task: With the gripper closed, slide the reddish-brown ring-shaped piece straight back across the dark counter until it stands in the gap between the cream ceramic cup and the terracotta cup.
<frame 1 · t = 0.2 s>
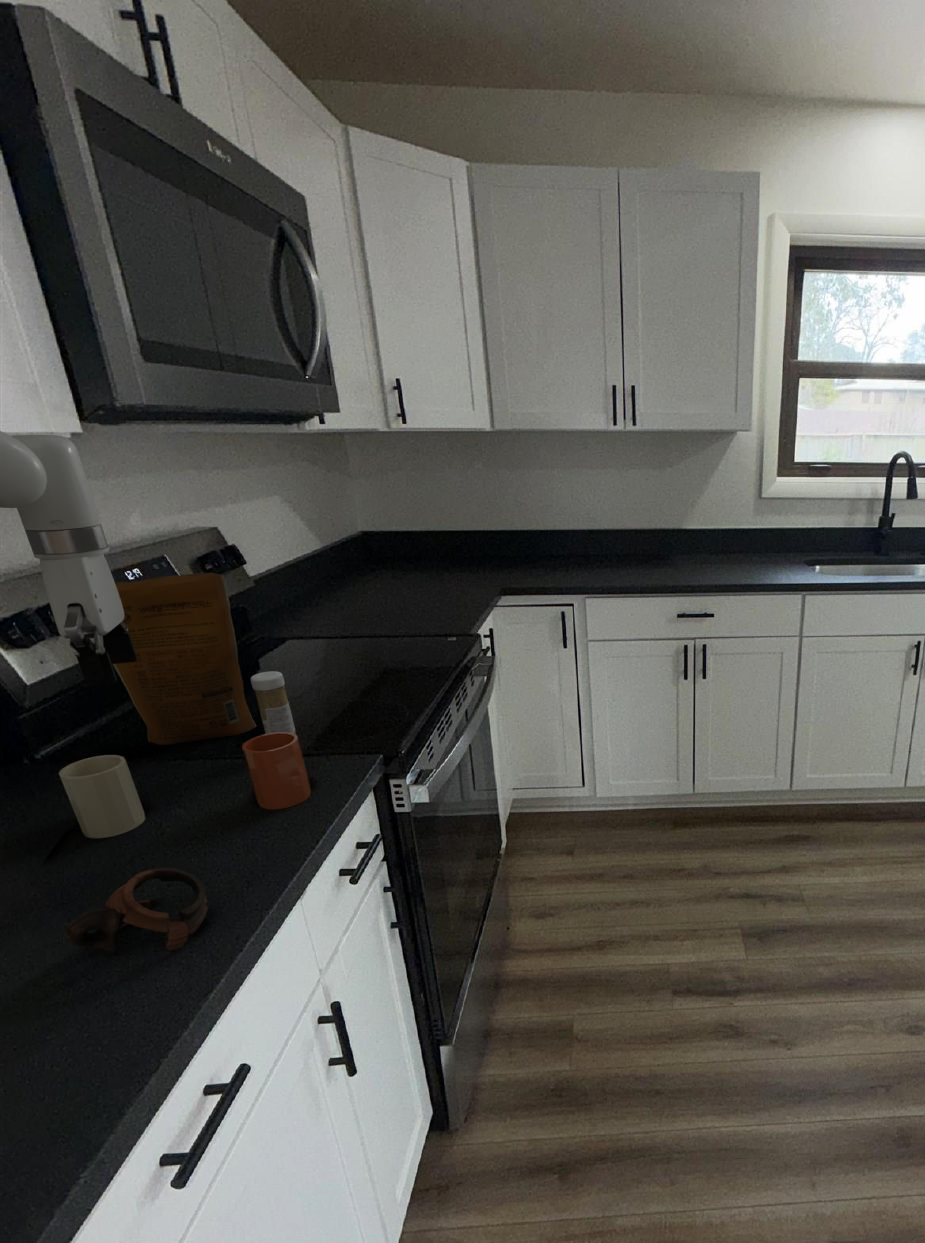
hand: (113, 672, 98), 20 cm above the counter, tool pointing down, fingers open, 9 cm apart
reddish-brown ring-shaped piece: (148, 941, 78), on the counter
terracotta cup: (284, 797, 107), on the counter
cream cup: (114, 825, 100), on the counter
sprinkles bottle: (285, 752, 122), on the counter
pancake mix bag: (203, 738, 127), on the counter
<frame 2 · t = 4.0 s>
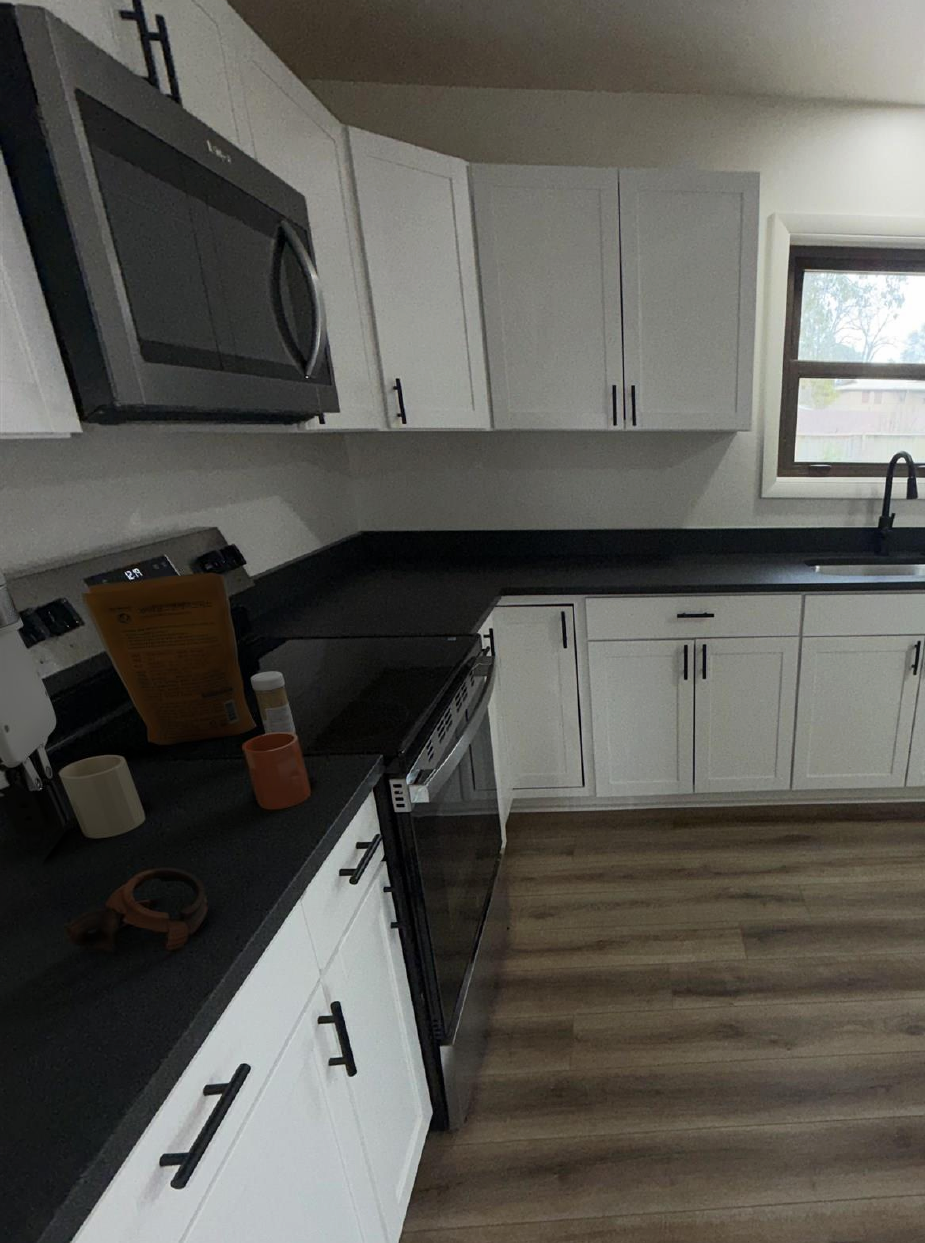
hand: (44, 828, 62), 19 cm above the counter, tool pointing down, fingers closed
nothing on the counter moved.
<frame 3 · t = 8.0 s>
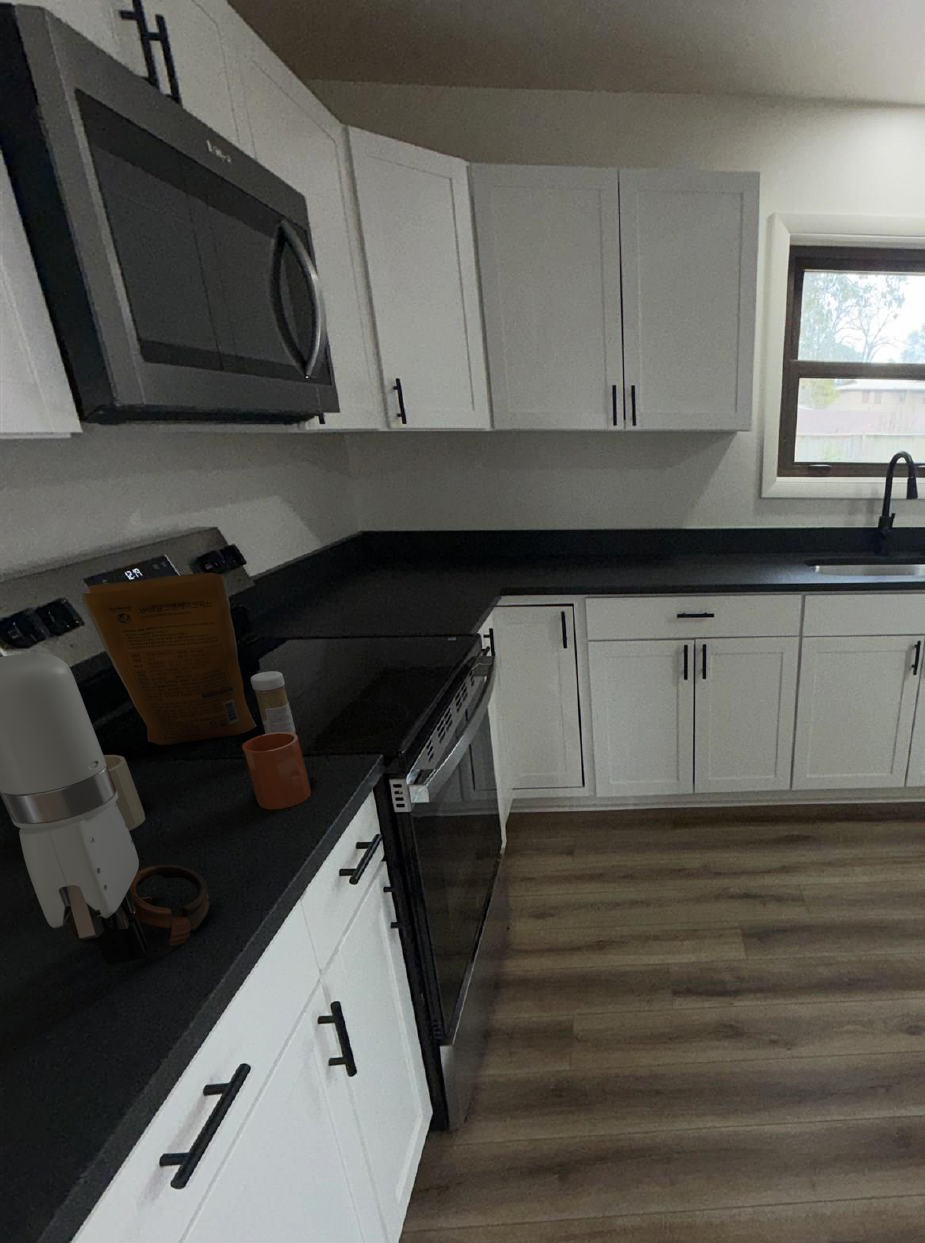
hand: (128, 956, 73), 2 cm above the counter, tool pointing down, fingers closed
reddish-brown ring-shaped piece: (151, 937, 79), on the counter, touching gripper
everything else where it was.
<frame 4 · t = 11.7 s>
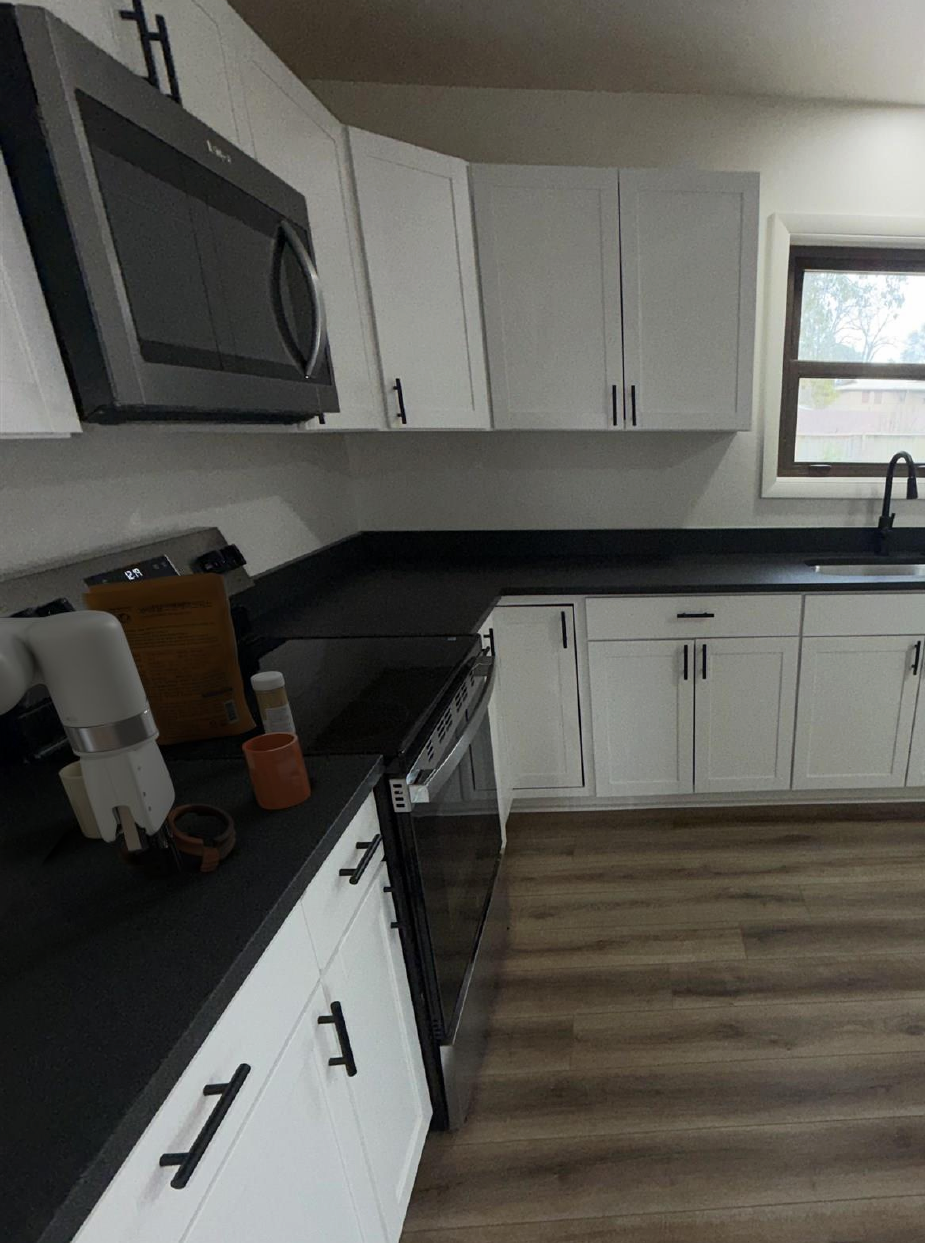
hand: (167, 873, 85), 2 cm above the counter, tool pointing down, fingers closed
reddish-brown ring-shaped piece: (186, 865, 91), on the counter, touching gripper
everything else where it was.
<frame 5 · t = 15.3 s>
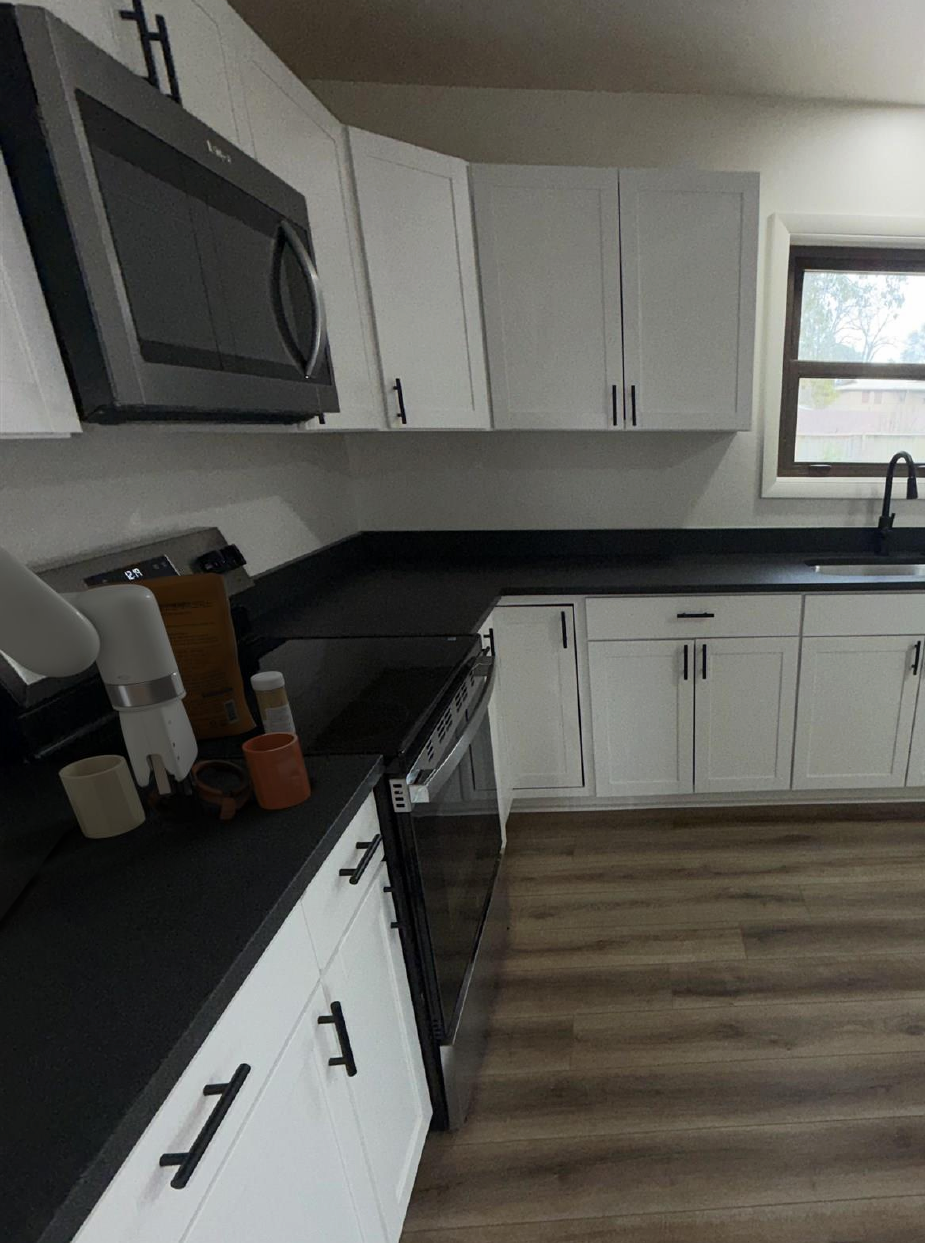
hand: (190, 818, 97), 2 cm above the counter, tool pointing down, fingers closed
reddish-brown ring-shaped piece: (206, 815, 103), on the counter, touching gripper
everything else where it was.
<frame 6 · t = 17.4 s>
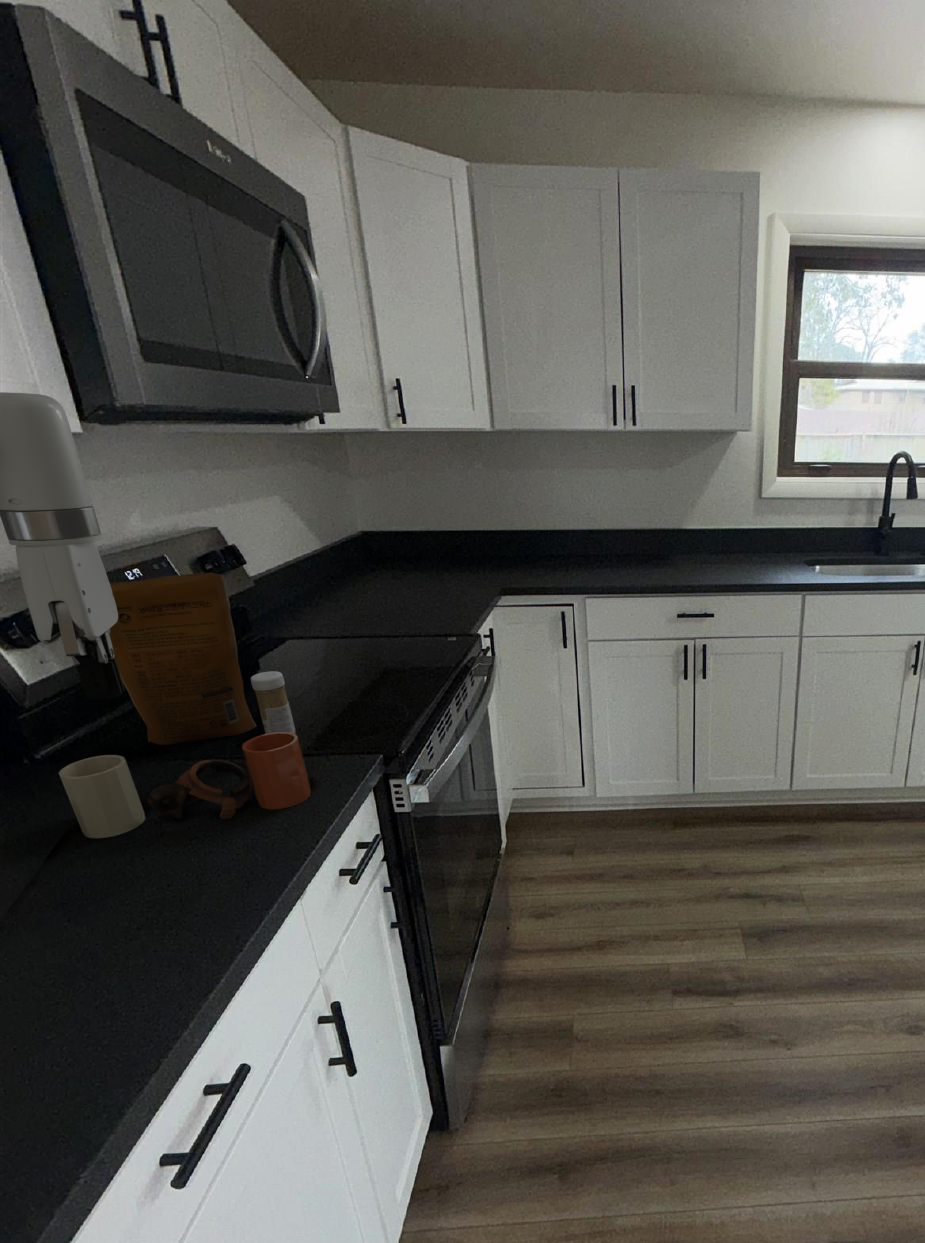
hand: (106, 695, 82), 23 cm above the counter, tool pointing down, fingers closed
reddish-brown ring-shaped piece: (206, 814, 103), on the counter
everything else where it was.
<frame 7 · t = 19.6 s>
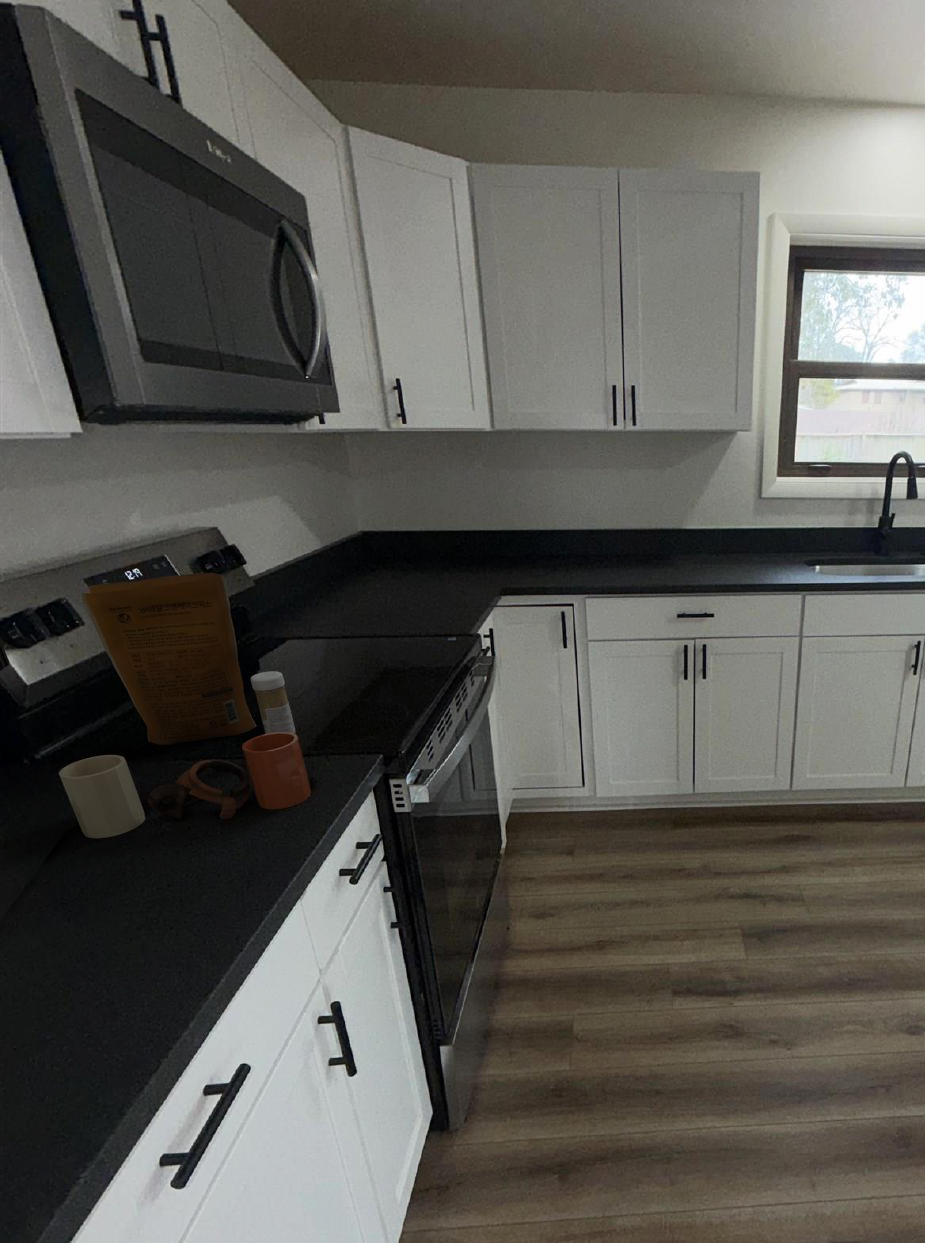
nothing on the counter moved.
at the end: reddish-brown ring-shaped piece inside the target area on the counter beside the cream cup (1.2 cm from its centre), on the counter; reddish-brown ring-shaped piece tilted 1° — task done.
